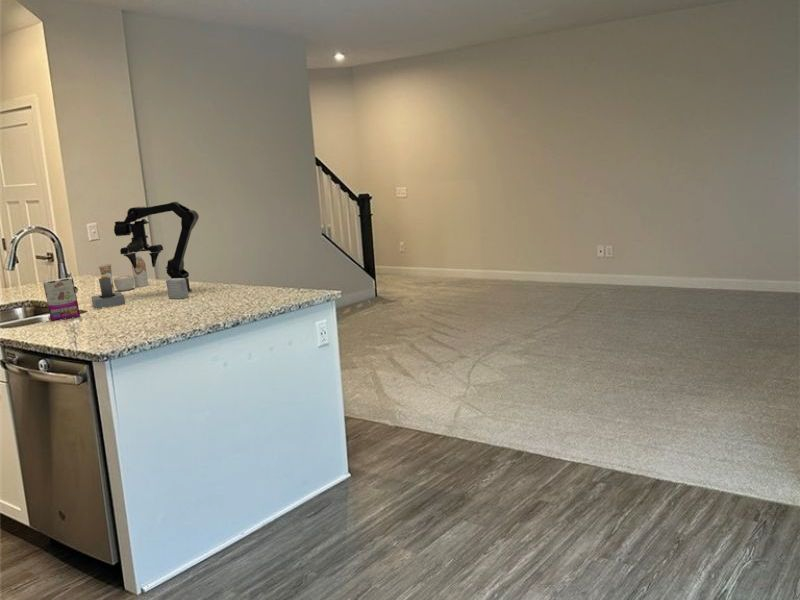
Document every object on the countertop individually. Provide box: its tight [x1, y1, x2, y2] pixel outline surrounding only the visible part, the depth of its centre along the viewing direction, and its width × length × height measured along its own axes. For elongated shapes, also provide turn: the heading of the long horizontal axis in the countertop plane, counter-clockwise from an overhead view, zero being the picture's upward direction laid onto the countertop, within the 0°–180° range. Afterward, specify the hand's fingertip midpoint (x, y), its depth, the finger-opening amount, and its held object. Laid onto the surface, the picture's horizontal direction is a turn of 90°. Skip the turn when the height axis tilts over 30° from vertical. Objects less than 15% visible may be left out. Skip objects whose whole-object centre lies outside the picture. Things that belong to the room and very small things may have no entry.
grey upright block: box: [98, 274, 113, 298], centre depth 308 cm, size 5×5×14 cm
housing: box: [90, 291, 126, 309], centre depth 309 cm, size 12×12×4 cm
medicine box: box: [165, 278, 189, 300], centre depth 310 cm, size 8×4×9 cm, turn 65°
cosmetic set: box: [98, 251, 149, 293], centre depth 345 cm, size 25×9×19 cm, turn 146°
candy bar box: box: [42, 276, 81, 322], centre depth 285 cm, size 11×5×16 cm, turn 117°
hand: (144, 267), depth 323 cm, fingers open, 9 cm apart
